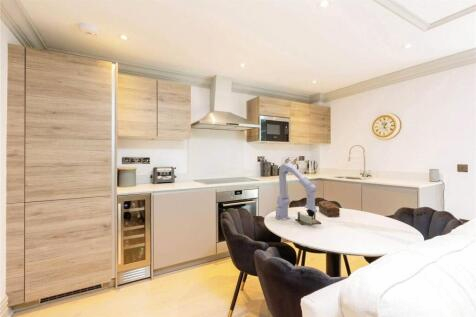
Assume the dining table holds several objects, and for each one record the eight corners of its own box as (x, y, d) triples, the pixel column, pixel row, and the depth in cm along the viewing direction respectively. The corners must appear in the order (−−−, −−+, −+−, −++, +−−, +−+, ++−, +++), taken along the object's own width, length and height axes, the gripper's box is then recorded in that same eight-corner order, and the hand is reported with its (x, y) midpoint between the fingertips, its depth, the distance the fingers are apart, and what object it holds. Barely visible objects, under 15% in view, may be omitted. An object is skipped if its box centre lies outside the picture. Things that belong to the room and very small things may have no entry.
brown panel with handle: (301, 225, 164) (301, 215, 163) (295, 220, 175) (295, 211, 175) (321, 223, 166) (321, 214, 166) (313, 219, 178) (313, 210, 178)
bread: (318, 211, 201) (318, 200, 200) (330, 211, 201) (330, 200, 201) (327, 217, 182) (327, 205, 182) (340, 217, 182) (340, 204, 182)
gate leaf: (299, 220, 170) (299, 213, 170) (301, 219, 171) (301, 213, 171) (310, 224, 160) (310, 217, 160) (312, 223, 161) (312, 216, 161)
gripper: (321, 203, 158) (321, 222, 158) (311, 198, 172) (311, 216, 172) (311, 203, 157) (311, 223, 157) (302, 199, 171) (302, 217, 171)
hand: (310, 219), depth 165 cm, fingers closed
